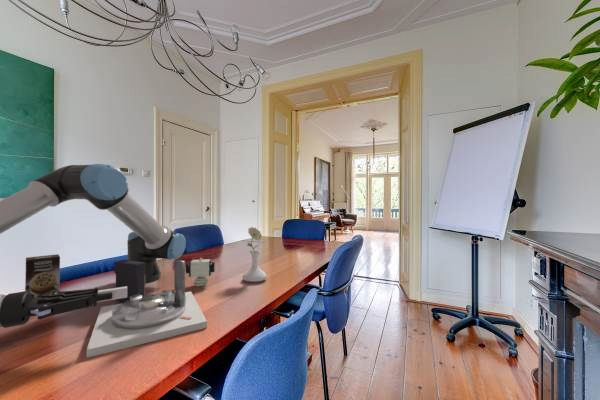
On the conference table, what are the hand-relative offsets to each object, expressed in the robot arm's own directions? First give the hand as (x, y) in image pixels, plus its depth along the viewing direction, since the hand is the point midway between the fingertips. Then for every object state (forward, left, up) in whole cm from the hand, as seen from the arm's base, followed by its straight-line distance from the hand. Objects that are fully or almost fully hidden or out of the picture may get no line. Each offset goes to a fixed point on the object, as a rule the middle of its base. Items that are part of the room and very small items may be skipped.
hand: (127, 291), depth 72 cm
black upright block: (-26, 0, -13) cm, 29 cm away
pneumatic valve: (-33, +26, -13) cm, 44 cm away
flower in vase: (-28, +49, -13) cm, 58 cm away
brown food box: (-46, -28, -13) cm, 55 cm away
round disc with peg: (-7, +6, -10) cm, 14 cm away
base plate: (-7, +6, -12) cm, 15 cm away
